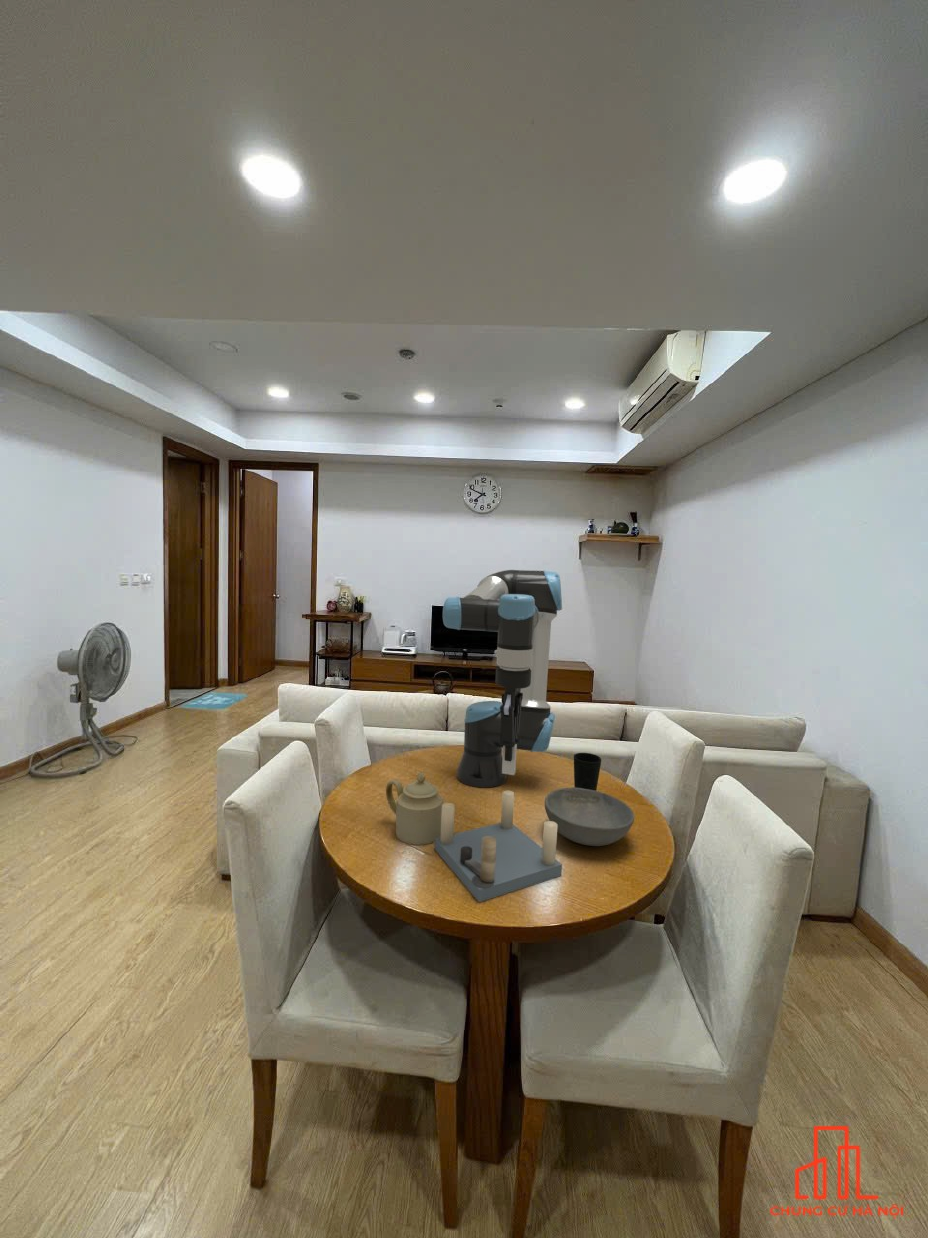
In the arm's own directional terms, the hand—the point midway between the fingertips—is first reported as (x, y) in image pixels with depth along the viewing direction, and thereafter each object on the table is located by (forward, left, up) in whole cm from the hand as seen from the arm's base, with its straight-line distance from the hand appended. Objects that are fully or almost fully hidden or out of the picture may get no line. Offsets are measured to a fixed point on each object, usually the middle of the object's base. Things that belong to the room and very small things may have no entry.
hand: (508, 772), depth 107 cm
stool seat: (+1, -3, -19) cm, 19 cm away
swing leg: (+6, -10, -16) cm, 20 cm away
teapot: (-18, -15, -19) cm, 30 cm away
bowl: (+1, +23, -20) cm, 30 cm away
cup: (-15, +37, -19) cm, 44 cm away
